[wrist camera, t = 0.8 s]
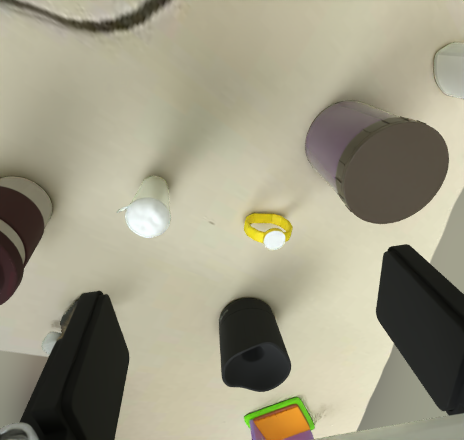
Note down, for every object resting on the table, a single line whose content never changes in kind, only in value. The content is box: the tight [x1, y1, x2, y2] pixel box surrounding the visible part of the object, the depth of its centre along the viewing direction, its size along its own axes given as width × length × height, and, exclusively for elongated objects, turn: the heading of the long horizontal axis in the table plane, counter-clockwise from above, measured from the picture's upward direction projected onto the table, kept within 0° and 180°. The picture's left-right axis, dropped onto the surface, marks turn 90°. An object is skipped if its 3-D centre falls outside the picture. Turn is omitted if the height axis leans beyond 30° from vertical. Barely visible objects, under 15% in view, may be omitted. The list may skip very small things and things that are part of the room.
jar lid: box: [335, 116, 449, 224], centre depth 32 cm, size 10×10×2 cm
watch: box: [244, 213, 292, 250], centre depth 43 cm, size 6×3×6 cm, turn 84°
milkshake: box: [117, 176, 171, 238], centre depth 37 cm, size 4×5×10 cm
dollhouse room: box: [244, 397, 315, 440], centre depth 66 cm, size 12×12×7 cm
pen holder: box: [219, 298, 291, 392], centre depth 50 cm, size 9×9×10 cm
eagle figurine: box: [42, 299, 79, 354], centre depth 48 cm, size 8×7×9 cm
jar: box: [305, 100, 399, 193], centre depth 36 cm, size 10×10×12 cm
